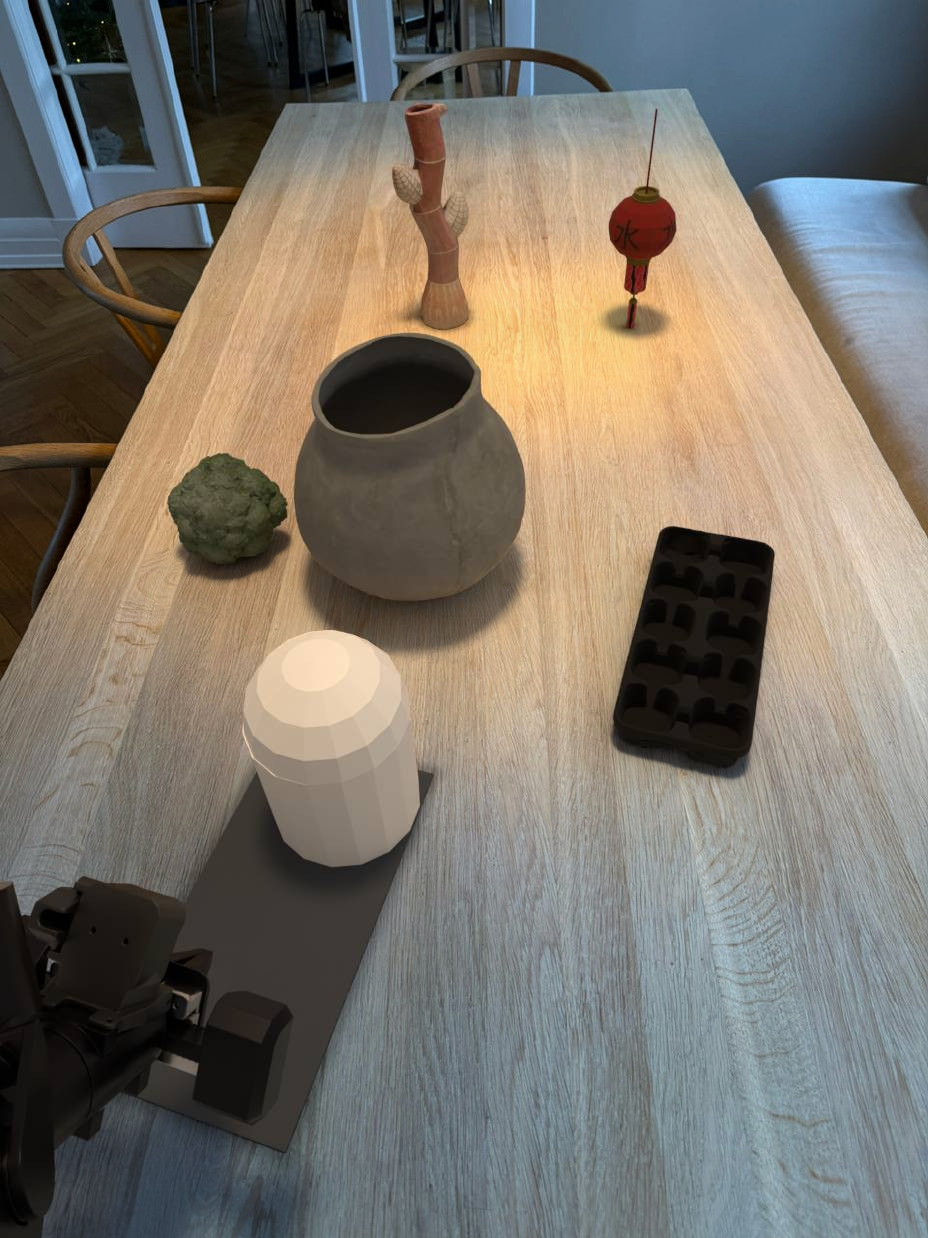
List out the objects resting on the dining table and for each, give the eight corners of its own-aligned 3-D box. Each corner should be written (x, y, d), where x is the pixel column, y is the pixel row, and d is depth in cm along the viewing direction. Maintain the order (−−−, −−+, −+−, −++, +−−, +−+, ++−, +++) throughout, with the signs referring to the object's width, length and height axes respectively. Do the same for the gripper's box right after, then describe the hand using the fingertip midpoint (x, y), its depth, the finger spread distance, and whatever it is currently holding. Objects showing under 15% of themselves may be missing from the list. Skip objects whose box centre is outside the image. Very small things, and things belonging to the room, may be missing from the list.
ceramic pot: (268, 558, 102) (217, 368, 83) (430, 467, 112) (416, 280, 93) (399, 682, 89) (372, 490, 70) (568, 567, 99) (584, 374, 81)
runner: (285, 1153, 62) (285, 1152, 61) (89, 1079, 65) (88, 1078, 65) (433, 775, 82) (433, 773, 82) (277, 734, 85) (277, 733, 85)
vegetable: (312, 481, 107) (294, 512, 94) (255, 560, 111) (230, 603, 97) (226, 420, 104) (195, 443, 91) (171, 504, 108) (132, 539, 94)
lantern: (673, 323, 133) (709, 105, 111) (639, 350, 129) (668, 128, 107) (621, 304, 138) (645, 90, 115) (586, 329, 133) (604, 111, 111)
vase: (469, 303, 139) (463, 92, 117) (475, 327, 134) (470, 111, 112) (402, 309, 139) (384, 98, 116) (406, 333, 134) (387, 118, 112)
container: (403, 723, 85) (383, 579, 71) (438, 844, 77) (423, 709, 62) (265, 757, 83) (214, 615, 68) (284, 885, 75) (231, 755, 60)
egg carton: (610, 767, 82) (614, 744, 79) (607, 545, 102) (610, 520, 99) (805, 780, 80) (816, 757, 77) (763, 552, 100) (771, 527, 97)
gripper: (239, 988, 41) (359, 880, 56) (-86, 876, 45) (107, 804, 60) (197, 1210, 42) (326, 1045, 57) (-118, 1079, 46) (80, 958, 61)
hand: (207, 956), depth 59 cm, fingers closed
